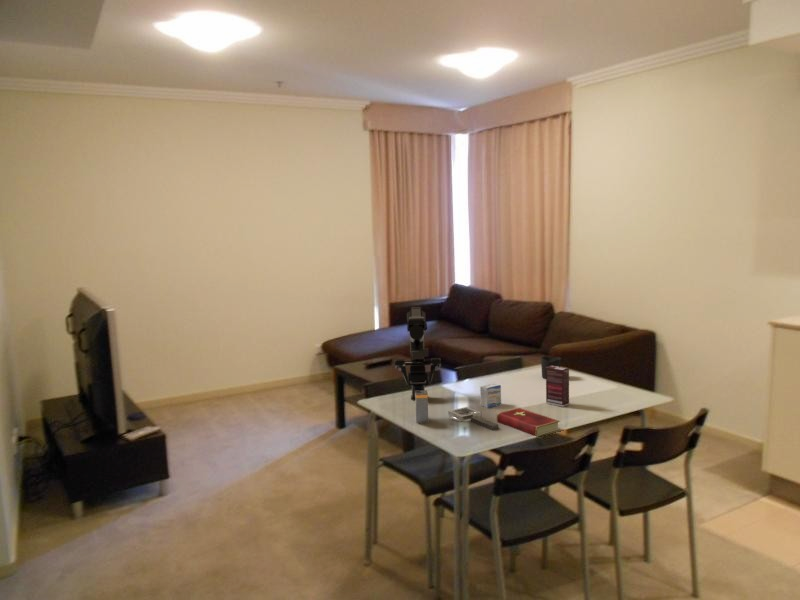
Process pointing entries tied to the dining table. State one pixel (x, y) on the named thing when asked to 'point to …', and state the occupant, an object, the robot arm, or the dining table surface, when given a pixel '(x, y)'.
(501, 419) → the hardcover book
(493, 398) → the medicine box
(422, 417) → the grey orange-banded block
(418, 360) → the robot arm
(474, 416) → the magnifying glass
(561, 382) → the supplement box
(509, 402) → the dining table surface
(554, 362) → the pen holder
